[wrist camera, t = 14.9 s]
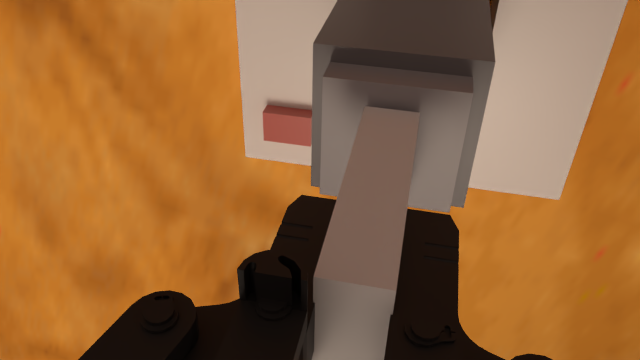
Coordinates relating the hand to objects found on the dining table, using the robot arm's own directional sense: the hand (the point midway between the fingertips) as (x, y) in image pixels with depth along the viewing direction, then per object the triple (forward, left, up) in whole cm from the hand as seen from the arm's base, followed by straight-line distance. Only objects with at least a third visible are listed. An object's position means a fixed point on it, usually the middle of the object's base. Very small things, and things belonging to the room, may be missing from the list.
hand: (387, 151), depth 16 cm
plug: (0, 0, -13) cm, 13 cm away
